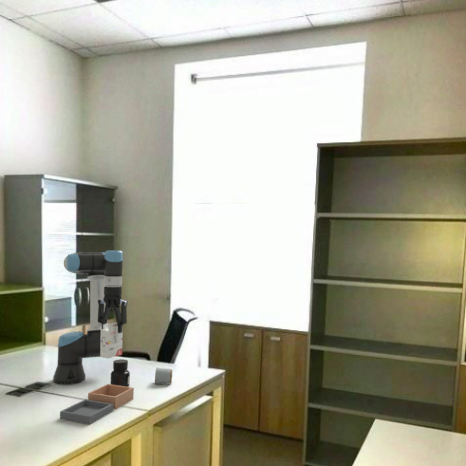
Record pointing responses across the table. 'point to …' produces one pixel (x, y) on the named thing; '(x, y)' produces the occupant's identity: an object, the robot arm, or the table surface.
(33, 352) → the table surface
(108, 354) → the ink cartridge box
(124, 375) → the ink bottle
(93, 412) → the tray
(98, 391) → the square wooden frame
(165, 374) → the ceramic mug
